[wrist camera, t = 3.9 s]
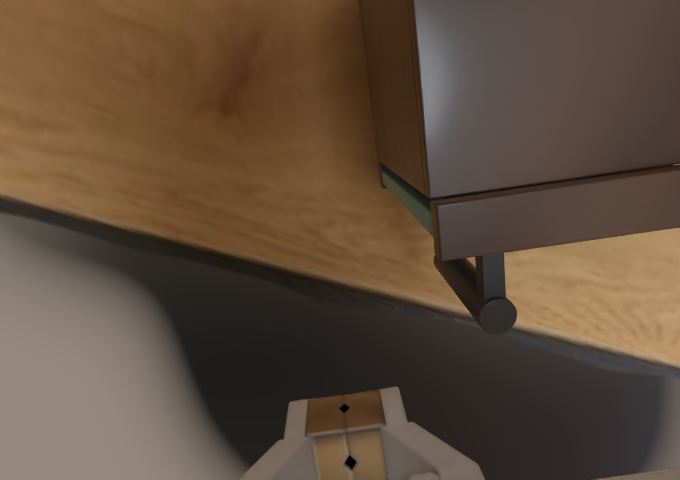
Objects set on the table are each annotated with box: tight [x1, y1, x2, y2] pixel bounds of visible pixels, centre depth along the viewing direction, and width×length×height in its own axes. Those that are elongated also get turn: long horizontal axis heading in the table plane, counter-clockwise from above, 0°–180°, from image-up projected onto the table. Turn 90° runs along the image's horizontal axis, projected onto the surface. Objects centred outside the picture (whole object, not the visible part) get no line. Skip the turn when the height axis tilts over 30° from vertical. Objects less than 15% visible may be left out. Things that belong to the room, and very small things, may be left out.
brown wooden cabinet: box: [359, 0, 680, 261], centre depth 19 cm, size 18×12×15 cm, turn 98°
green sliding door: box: [382, 165, 674, 334], centre depth 21 cm, size 10×5×12 cm, turn 98°
